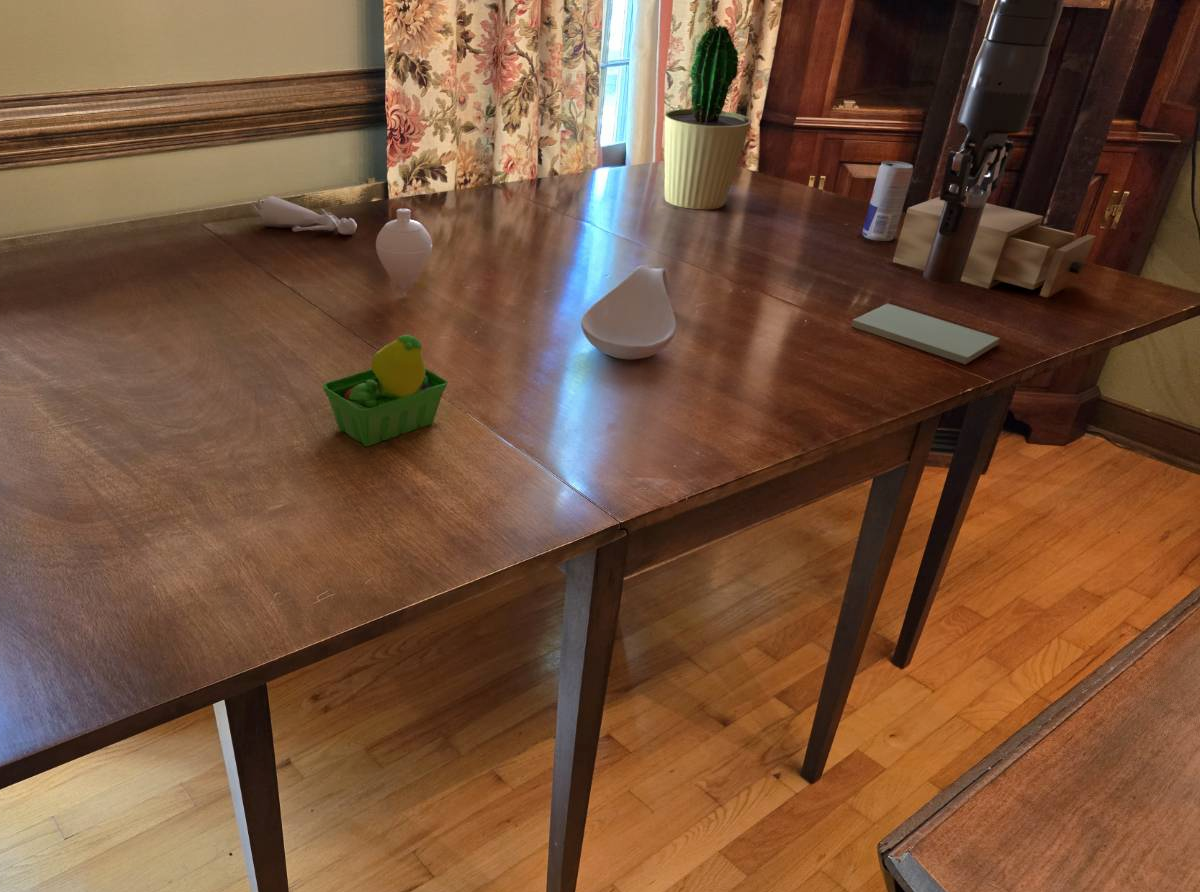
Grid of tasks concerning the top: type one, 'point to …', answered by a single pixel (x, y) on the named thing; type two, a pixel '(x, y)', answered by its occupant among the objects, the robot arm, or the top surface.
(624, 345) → the spoon rest
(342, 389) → the fruit basket
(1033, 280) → the drawer
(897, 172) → the energy drink
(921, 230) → the cabinet
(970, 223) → the glass of dark soda
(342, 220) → the woman figurine
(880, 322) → the mat
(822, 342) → the top surface
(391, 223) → the spinning top
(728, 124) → the potted cactus
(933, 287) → the top surface
